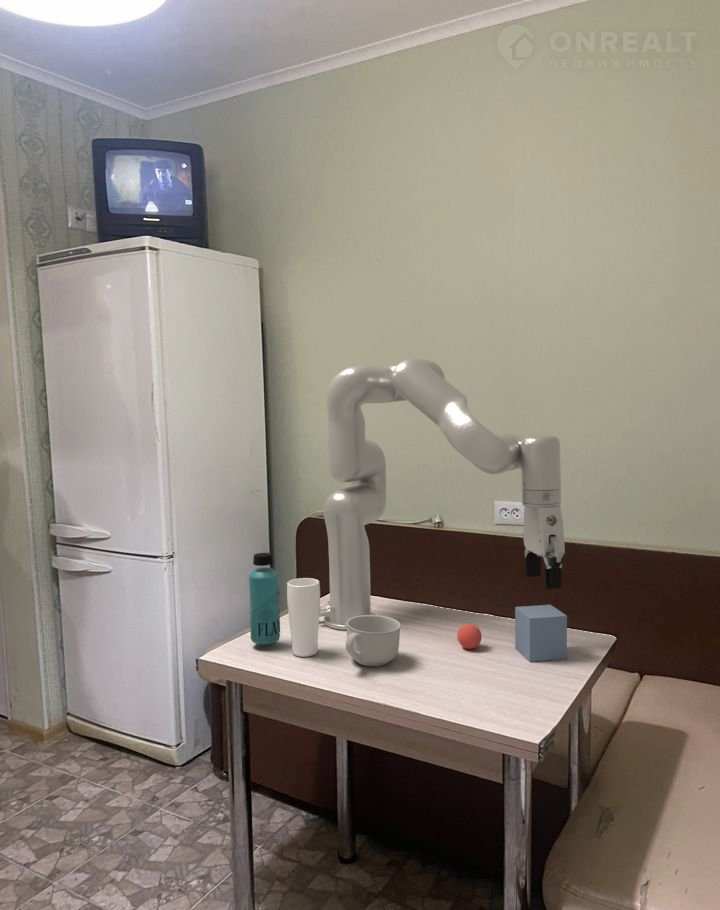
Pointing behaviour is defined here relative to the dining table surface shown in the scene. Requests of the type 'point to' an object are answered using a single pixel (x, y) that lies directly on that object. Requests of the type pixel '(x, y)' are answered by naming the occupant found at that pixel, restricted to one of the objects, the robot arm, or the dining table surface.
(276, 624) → the beverage bottle
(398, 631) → the teacup
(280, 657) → the dining table surface
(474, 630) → the ball
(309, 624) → the drinking glass
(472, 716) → the dining table surface
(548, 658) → the pale blue cube
